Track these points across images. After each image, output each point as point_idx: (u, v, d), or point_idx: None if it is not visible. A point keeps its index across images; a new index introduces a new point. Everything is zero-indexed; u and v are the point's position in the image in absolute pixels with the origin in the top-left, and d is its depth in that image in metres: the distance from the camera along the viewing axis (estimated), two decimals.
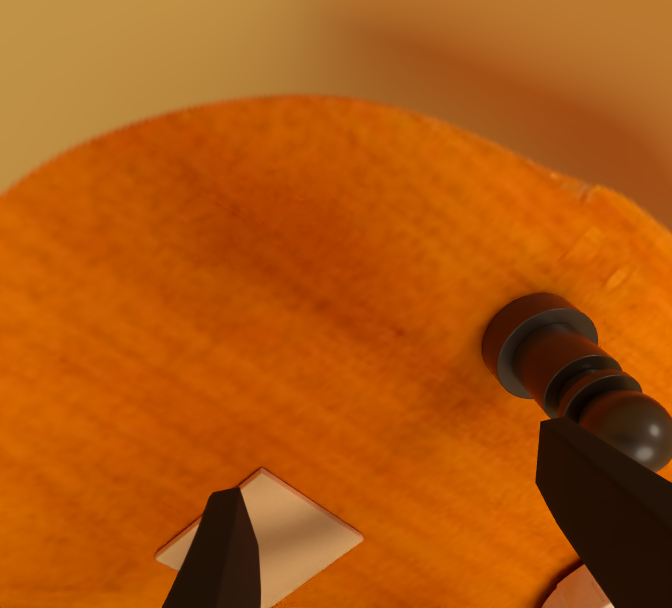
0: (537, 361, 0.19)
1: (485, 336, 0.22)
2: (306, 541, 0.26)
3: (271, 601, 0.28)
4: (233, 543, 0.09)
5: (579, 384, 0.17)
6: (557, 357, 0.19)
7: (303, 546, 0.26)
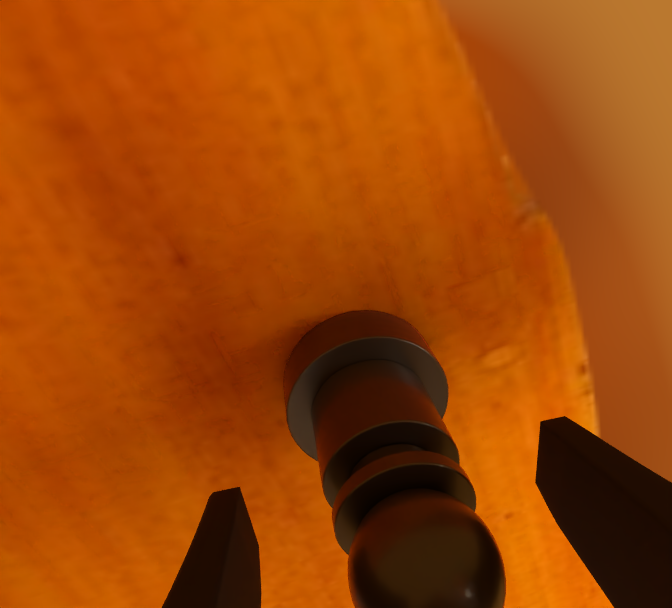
0: (352, 400, 0.12)
1: (303, 339, 0.14)
2: None
3: None
4: (233, 543, 0.09)
5: (395, 458, 0.10)
6: (383, 406, 0.11)
7: None
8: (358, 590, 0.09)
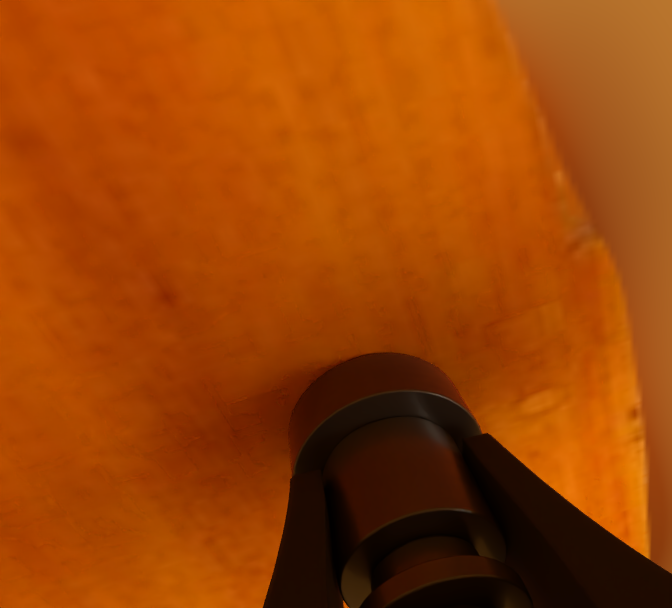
0: (374, 474, 0.09)
1: (311, 387, 0.12)
2: None
3: None
4: (325, 522, 0.09)
5: (434, 568, 0.08)
6: (414, 486, 0.09)
7: None
8: None
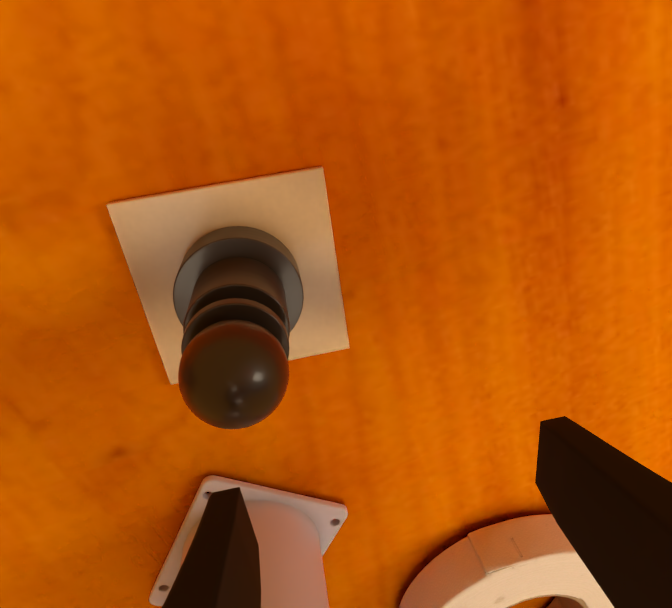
0: (210, 278, 0.16)
1: (190, 248, 0.18)
2: None
3: None
4: (233, 543, 0.09)
5: (221, 301, 0.14)
6: (228, 277, 0.15)
7: None
8: (179, 375, 0.12)
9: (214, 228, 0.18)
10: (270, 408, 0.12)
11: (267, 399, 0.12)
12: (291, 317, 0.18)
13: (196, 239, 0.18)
